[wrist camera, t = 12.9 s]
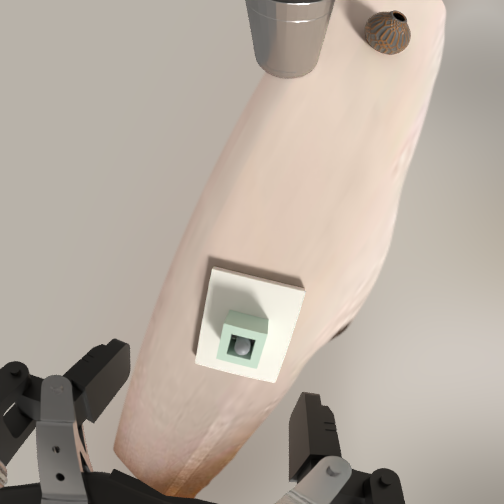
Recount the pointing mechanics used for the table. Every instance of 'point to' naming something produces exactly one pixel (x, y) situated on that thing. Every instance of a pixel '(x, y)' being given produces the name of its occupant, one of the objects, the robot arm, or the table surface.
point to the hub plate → (252, 303)
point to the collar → (244, 328)
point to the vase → (388, 32)
